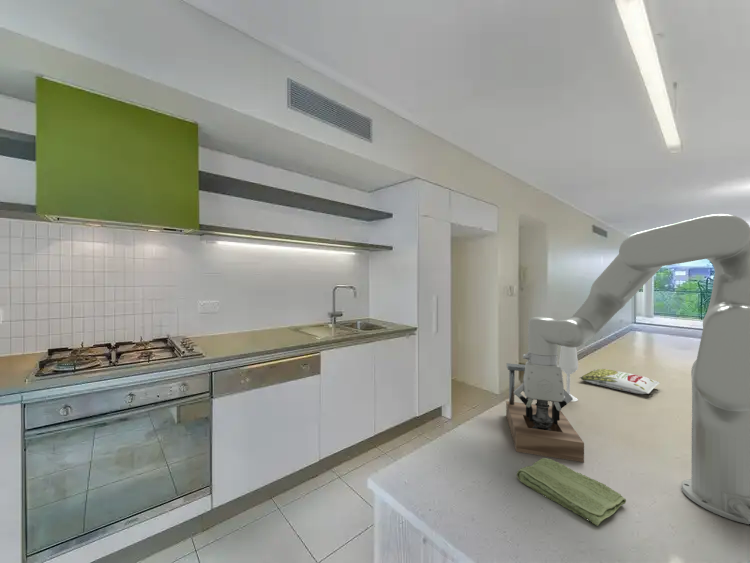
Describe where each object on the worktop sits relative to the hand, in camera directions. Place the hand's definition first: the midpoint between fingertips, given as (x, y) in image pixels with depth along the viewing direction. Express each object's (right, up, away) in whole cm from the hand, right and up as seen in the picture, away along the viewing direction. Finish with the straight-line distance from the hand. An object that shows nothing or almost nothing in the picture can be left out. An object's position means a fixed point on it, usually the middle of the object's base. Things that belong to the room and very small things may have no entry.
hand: (542, 420), depth 90 cm
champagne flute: (+29, -7, +34) cm, 45 cm away
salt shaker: (0, -3, 0) cm, 3 cm away
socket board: (+1, -6, +3) cm, 7 cm away
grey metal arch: (+4, -1, +13) cm, 13 cm away
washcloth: (-6, -6, -22) cm, 24 cm away
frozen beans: (+62, -7, +50) cm, 80 cm away
